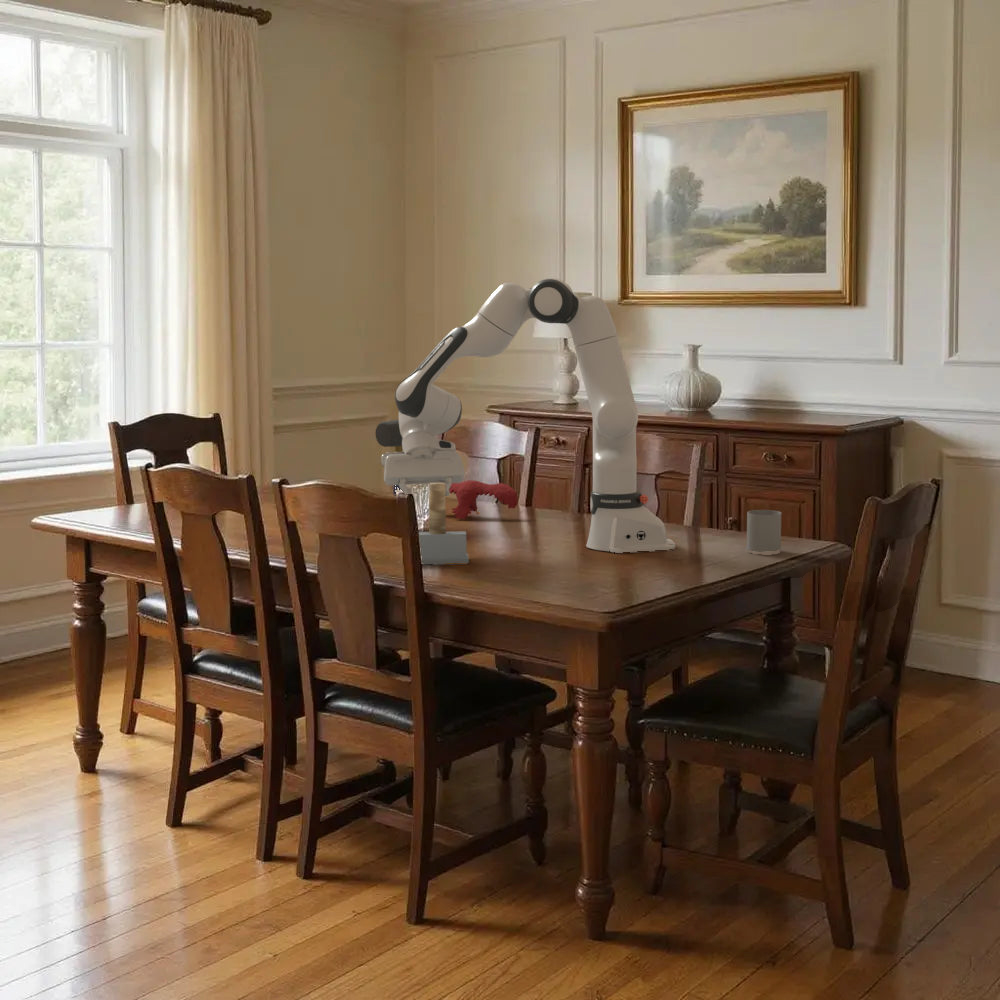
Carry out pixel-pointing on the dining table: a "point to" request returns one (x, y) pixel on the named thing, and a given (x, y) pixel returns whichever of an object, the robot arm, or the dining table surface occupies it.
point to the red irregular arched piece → (472, 489)
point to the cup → (763, 530)
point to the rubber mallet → (390, 437)
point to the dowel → (437, 508)
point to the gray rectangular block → (443, 547)
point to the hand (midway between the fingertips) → (427, 495)
